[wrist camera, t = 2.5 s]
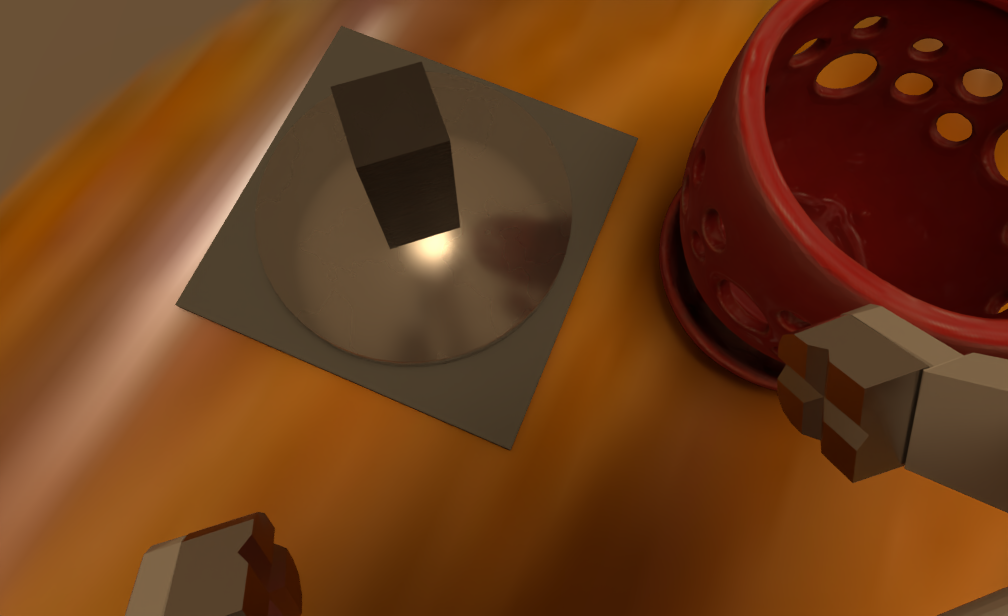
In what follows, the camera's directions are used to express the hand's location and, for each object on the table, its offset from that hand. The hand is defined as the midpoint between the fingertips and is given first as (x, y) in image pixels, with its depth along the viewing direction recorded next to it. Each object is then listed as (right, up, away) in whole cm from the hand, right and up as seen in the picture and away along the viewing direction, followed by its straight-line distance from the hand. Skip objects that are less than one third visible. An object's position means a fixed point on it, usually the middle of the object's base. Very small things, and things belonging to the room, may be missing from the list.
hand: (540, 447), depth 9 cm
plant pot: (+12, +4, +20) cm, 23 cm away
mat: (-5, +6, +20) cm, 21 cm away
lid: (-5, +6, +19) cm, 21 cm away
